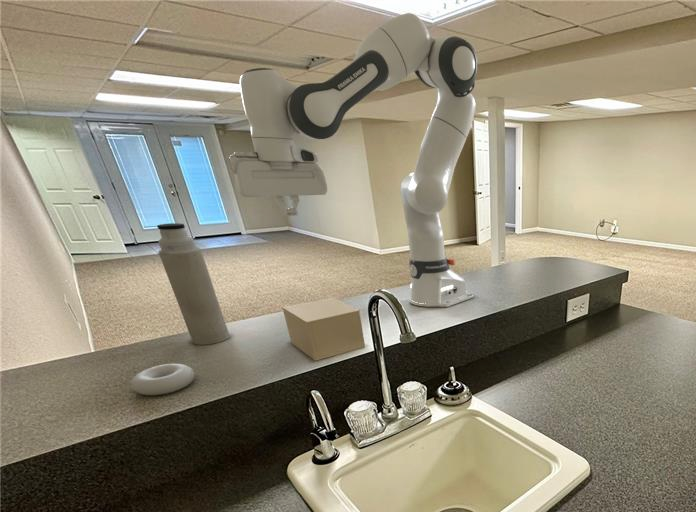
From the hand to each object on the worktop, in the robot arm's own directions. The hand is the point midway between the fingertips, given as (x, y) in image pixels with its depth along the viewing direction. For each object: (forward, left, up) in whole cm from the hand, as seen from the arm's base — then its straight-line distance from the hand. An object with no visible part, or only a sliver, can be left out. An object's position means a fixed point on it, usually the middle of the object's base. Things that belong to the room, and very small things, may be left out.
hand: (290, 215), depth 103 cm
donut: (+37, +17, -29) cm, 50 cm away
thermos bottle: (+24, -6, -29) cm, 38 cm away
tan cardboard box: (+4, +18, -29) cm, 34 cm away
